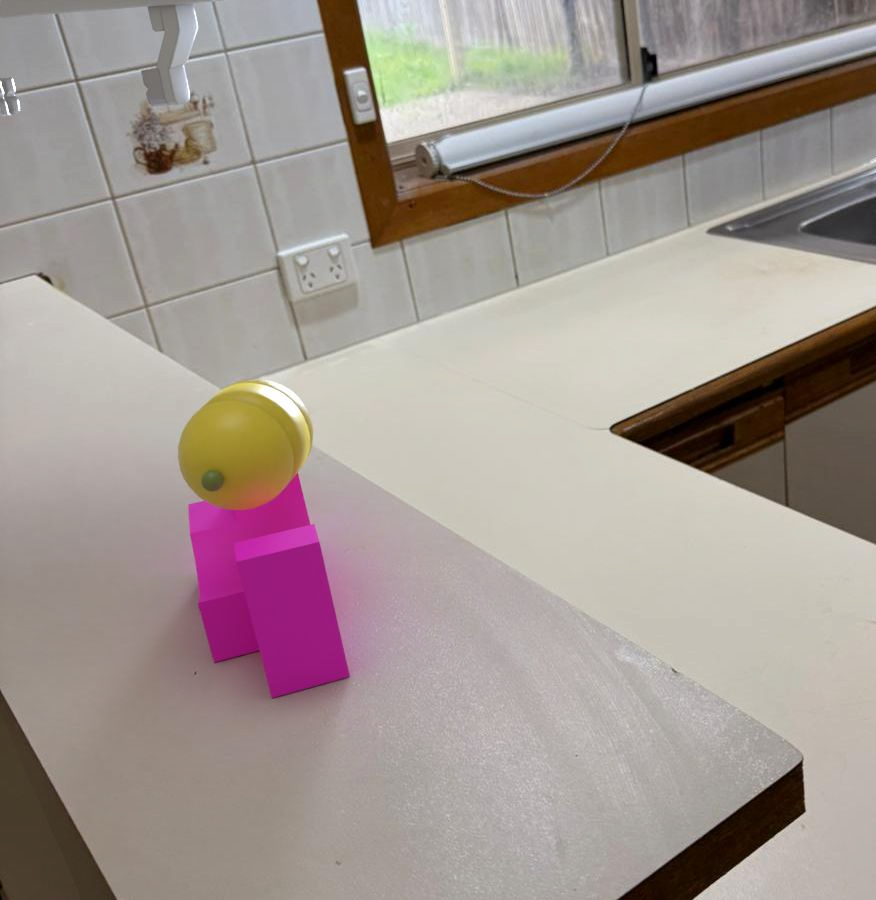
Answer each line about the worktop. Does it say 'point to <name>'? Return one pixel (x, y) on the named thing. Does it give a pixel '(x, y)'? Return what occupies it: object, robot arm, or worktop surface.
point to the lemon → (245, 444)
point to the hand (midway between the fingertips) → (84, 110)
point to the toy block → (268, 590)
